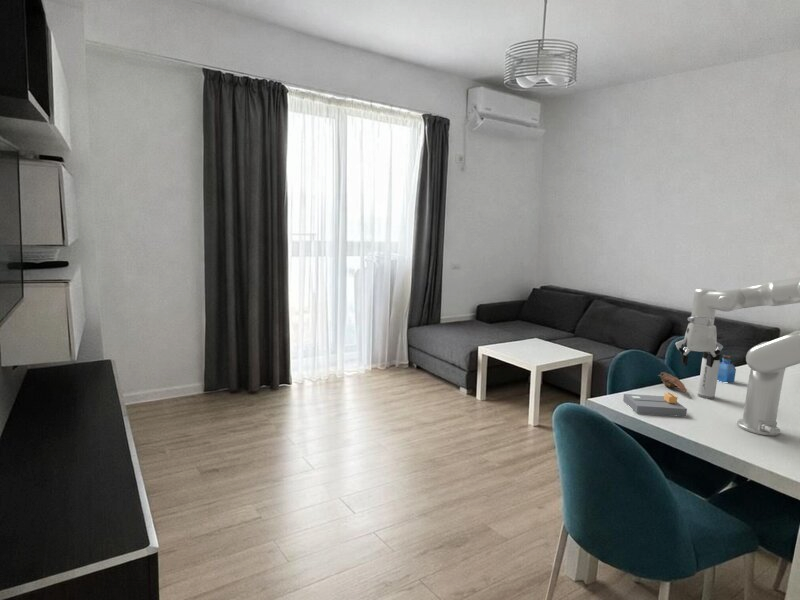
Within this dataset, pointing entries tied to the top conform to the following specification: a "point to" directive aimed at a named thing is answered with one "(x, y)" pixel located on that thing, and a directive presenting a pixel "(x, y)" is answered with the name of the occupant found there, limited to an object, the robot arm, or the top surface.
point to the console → (653, 405)
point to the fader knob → (670, 398)
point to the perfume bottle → (726, 370)
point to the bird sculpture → (672, 381)
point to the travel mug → (708, 377)
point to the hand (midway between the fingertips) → (696, 365)
